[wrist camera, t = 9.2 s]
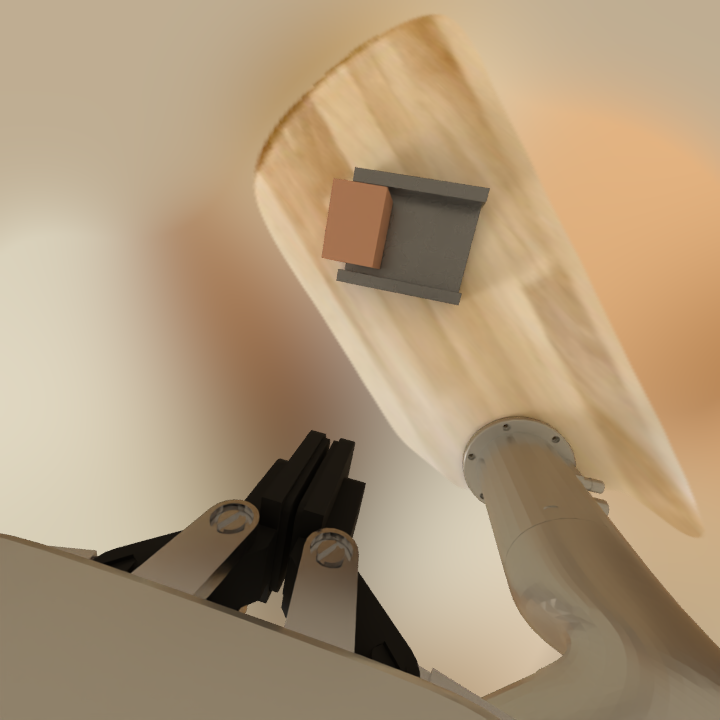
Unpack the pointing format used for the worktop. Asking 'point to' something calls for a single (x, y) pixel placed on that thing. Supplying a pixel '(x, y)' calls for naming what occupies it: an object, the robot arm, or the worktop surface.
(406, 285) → the chute
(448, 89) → the worktop surface
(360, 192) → the block
